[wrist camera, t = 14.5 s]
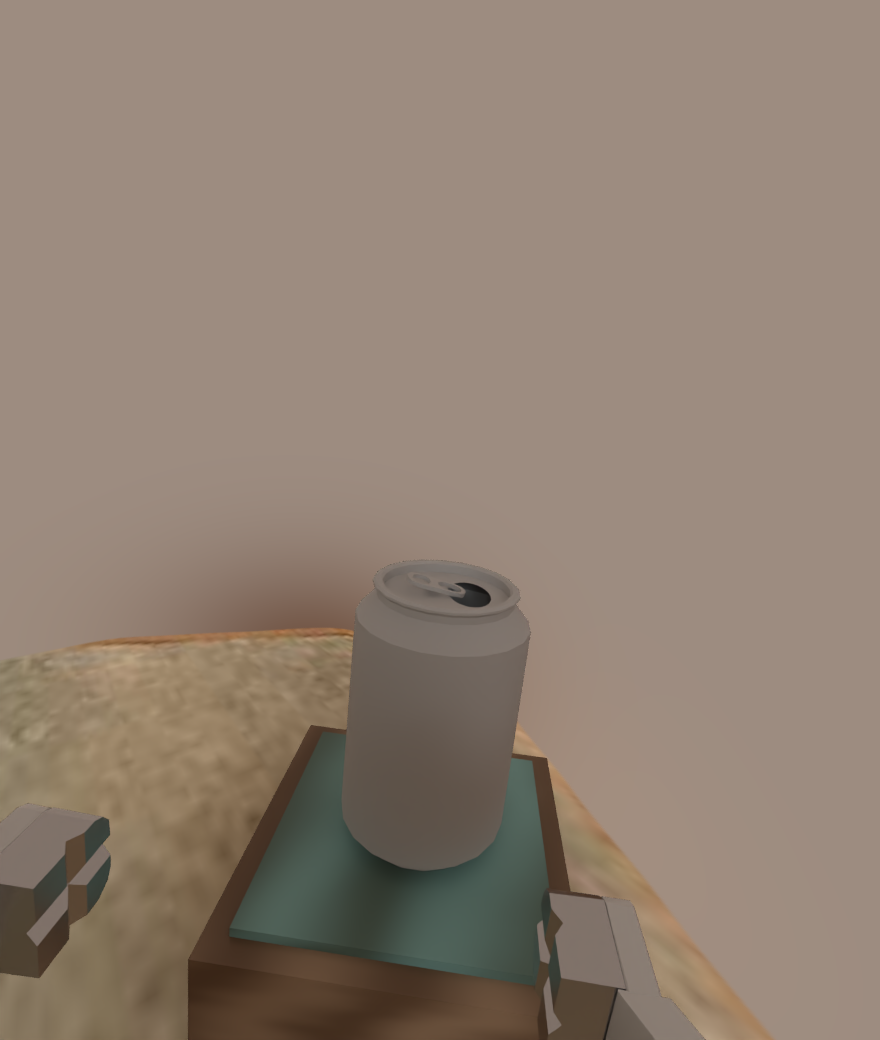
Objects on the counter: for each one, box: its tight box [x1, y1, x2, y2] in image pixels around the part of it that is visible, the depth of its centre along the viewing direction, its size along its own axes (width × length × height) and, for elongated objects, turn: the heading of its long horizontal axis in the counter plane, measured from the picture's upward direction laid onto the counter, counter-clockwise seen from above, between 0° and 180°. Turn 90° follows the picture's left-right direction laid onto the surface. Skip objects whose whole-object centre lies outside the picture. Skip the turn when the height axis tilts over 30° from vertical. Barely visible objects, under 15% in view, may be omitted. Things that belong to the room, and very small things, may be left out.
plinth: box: [188, 725, 570, 1040], centre depth 26 cm, size 14×14×4 cm
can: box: [341, 560, 531, 871], centre depth 25 cm, size 8×8×12 cm
